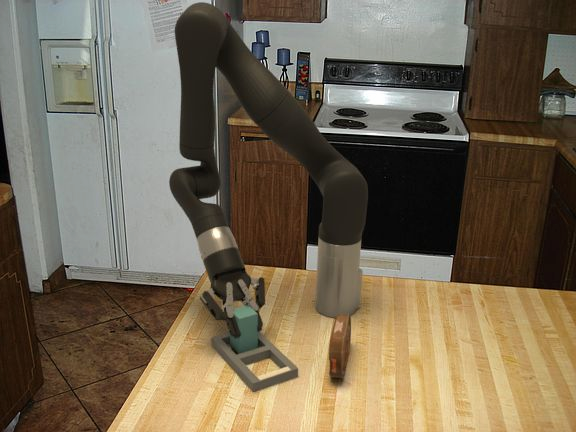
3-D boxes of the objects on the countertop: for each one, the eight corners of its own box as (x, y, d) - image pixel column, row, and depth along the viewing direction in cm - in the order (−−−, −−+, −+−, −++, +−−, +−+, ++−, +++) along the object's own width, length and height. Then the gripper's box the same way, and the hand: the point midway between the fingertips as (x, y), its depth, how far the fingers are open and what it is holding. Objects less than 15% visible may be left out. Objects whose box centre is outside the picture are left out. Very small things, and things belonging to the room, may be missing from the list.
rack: (252, 332, 132) (253, 324, 131) (297, 376, 118) (298, 367, 117) (211, 344, 127) (211, 336, 127) (253, 391, 113) (253, 383, 113)
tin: (342, 388, 115) (345, 348, 112) (325, 385, 116) (327, 346, 113) (351, 343, 129) (354, 307, 126) (336, 341, 130) (338, 305, 127)
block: (248, 339, 128) (248, 304, 125) (257, 349, 125) (257, 313, 122) (230, 344, 126) (229, 309, 124) (239, 354, 123) (239, 318, 120)
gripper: (192, 254, 121) (221, 338, 116) (257, 239, 128) (287, 319, 123) (182, 268, 128) (209, 349, 122) (245, 254, 134) (273, 330, 129)
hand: (248, 333), depth 123 cm, fingers closed on block, 4 cm apart
